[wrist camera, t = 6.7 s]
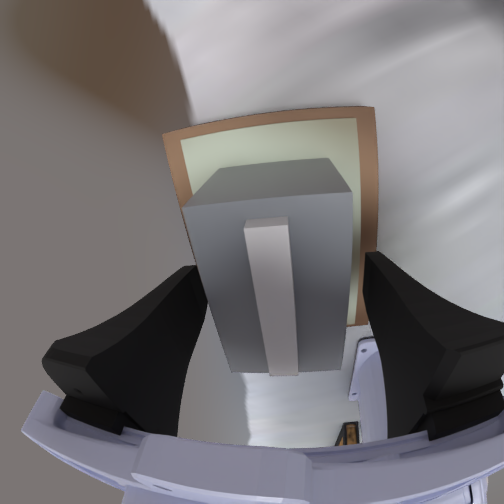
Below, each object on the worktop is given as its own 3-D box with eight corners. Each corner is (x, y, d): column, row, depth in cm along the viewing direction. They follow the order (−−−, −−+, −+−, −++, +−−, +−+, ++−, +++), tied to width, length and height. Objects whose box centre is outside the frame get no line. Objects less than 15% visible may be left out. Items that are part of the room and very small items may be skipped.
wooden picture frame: (362, 304, 18) (368, 327, 16) (224, 313, 20) (217, 336, 18) (362, 106, 12) (376, 107, 10) (176, 129, 14) (159, 135, 12)
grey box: (328, 157, 12) (357, 199, 7) (331, 299, 15) (342, 380, 11) (219, 168, 12) (174, 215, 8) (245, 303, 16) (229, 382, 12)
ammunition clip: (345, 447, 33) (345, 514, 23) (333, 448, 33) (332, 515, 23) (358, 421, 28) (362, 506, 17) (343, 422, 28) (345, 509, 18)
